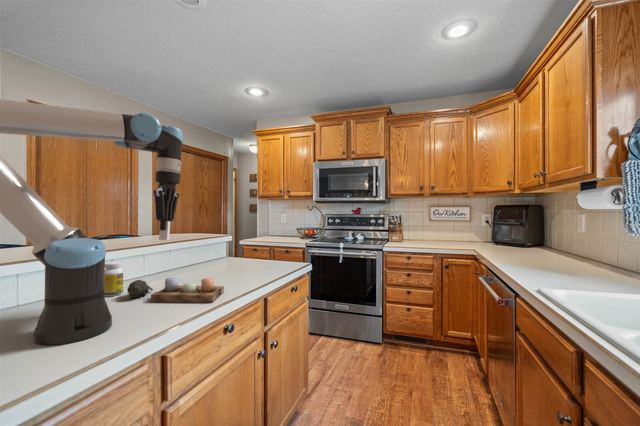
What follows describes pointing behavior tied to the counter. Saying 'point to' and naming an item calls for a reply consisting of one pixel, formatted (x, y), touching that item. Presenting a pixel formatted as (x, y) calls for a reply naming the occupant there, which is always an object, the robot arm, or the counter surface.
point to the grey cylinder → (171, 284)
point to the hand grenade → (138, 288)
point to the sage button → (189, 287)
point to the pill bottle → (113, 279)
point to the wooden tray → (188, 295)
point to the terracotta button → (207, 285)
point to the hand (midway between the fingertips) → (164, 239)
